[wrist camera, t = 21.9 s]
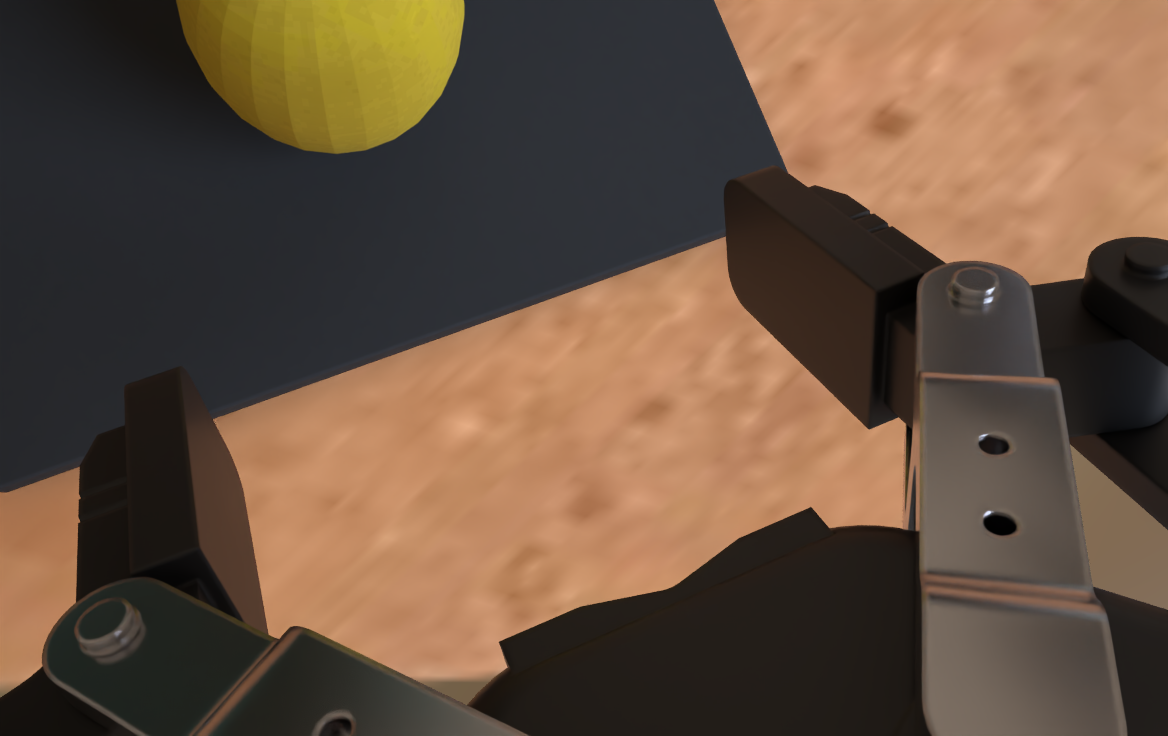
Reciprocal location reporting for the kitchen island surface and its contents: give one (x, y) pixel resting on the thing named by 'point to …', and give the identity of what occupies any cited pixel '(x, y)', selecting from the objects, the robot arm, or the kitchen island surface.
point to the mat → (331, 202)
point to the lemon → (326, 64)
